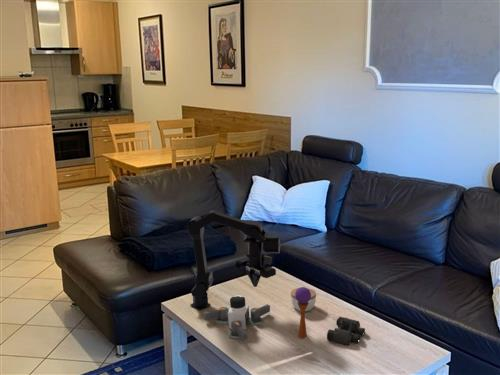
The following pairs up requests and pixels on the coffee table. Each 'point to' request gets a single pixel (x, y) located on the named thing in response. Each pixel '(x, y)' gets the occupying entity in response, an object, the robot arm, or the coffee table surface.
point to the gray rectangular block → (238, 330)
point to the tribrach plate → (238, 335)
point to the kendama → (302, 308)
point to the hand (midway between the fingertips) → (255, 286)
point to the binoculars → (346, 331)
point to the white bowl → (311, 301)
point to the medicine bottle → (238, 311)
